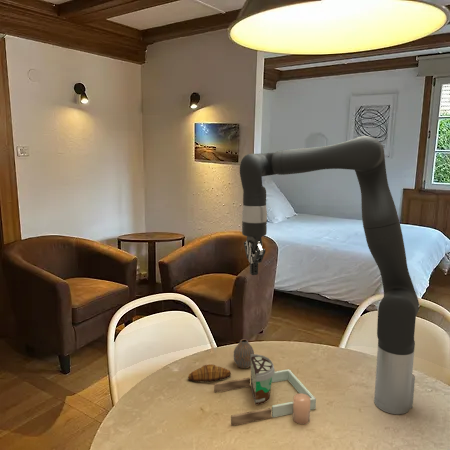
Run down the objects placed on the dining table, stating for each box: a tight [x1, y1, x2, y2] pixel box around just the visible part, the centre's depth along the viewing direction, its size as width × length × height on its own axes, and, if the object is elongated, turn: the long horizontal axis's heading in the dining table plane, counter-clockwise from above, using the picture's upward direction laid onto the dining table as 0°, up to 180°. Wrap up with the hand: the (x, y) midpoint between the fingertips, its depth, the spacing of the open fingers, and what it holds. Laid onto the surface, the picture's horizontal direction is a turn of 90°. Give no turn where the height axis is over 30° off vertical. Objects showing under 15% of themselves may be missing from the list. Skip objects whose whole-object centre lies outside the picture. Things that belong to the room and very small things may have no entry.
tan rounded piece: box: [292, 392, 311, 425], centre depth 110 cm, size 4×4×6 cm
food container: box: [250, 353, 276, 406], centre depth 121 cm, size 12×6×10 cm, turn 4°
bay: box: [271, 369, 317, 418], centre depth 121 cm, size 13×17×3 cm
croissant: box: [187, 363, 232, 383], centre depth 130 cm, size 14×7×5 cm, turn 99°
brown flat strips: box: [213, 377, 272, 427], centre depth 117 cm, size 11×17×2 cm, turn 17°
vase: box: [233, 338, 255, 369], centre depth 138 cm, size 7×7×9 cm
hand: (253, 274), depth 131 cm, fingers closed
